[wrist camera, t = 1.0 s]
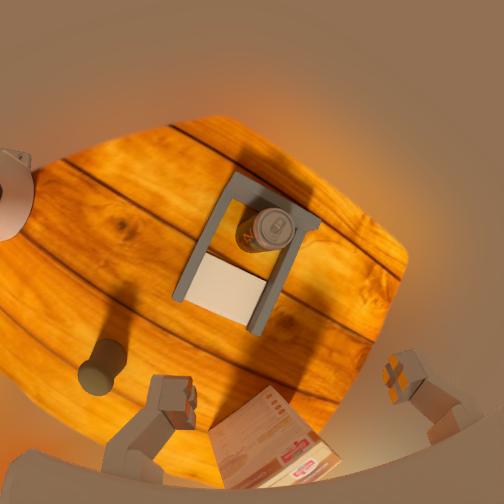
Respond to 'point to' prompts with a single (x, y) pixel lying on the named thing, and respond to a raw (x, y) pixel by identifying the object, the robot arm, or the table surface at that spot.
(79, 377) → the cork
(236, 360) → the table surface
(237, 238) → the beer can
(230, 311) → the bay
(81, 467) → the robot arm
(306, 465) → the coffeecake box
